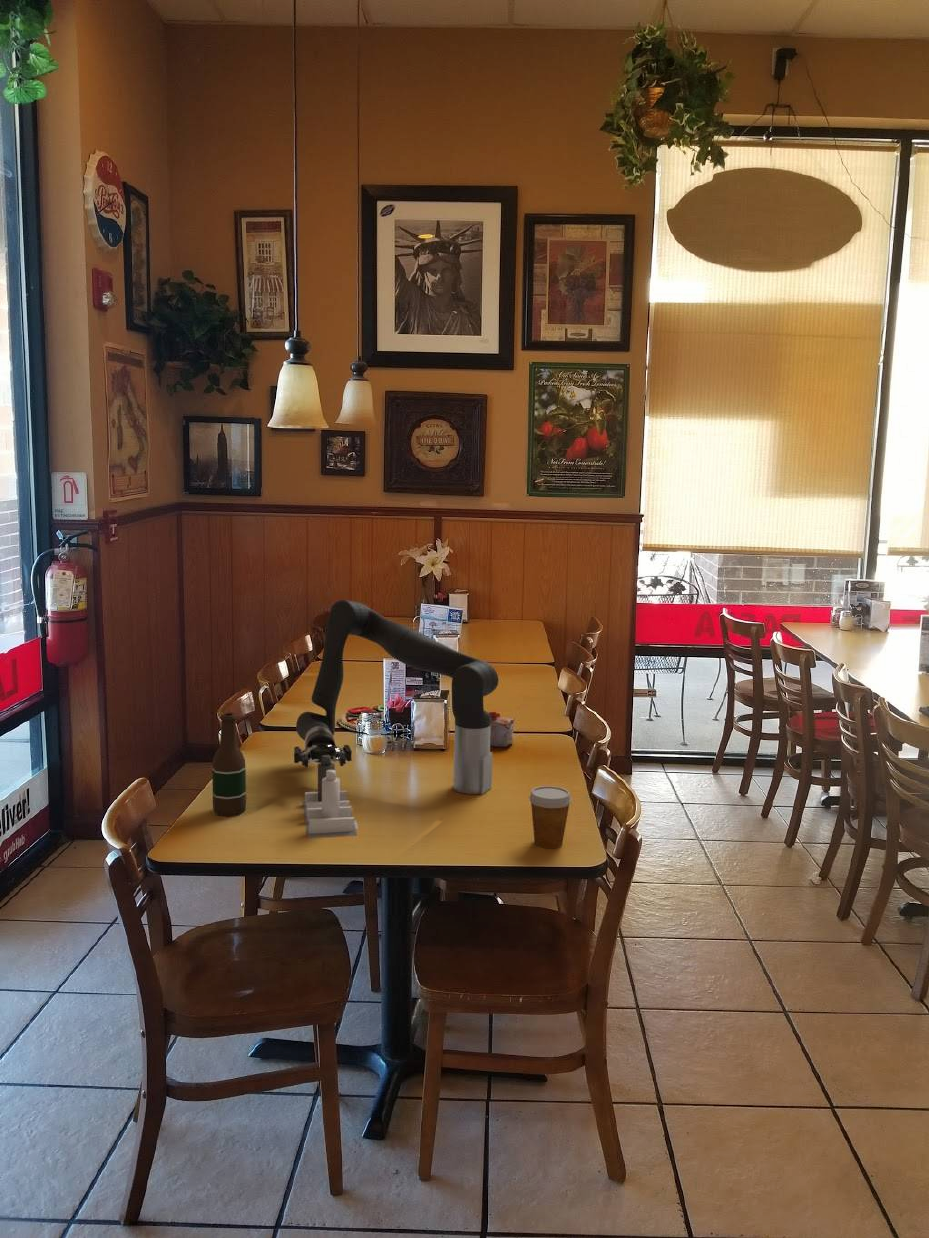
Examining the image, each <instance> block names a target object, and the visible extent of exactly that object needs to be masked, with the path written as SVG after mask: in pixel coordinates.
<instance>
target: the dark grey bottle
mask: <svg viewBox="0 0 929 1238" xmlns="http://www.w3.org/2000/svg"><path fill="white" fill-rule="evenodd" d="M327 770H335V771H336V765H335V762H333V761H331V756H330V755H323V756H321V763H317V792H318V802H322V779H323V778H325V777H326V771H327Z"/></svg>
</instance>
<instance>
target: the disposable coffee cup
mask: <svg viewBox="0 0 929 1238" xmlns="http://www.w3.org/2000/svg"><path fill="white" fill-rule="evenodd" d="M528 798H529V801H530V805H531V815H532V816H531V817H532V828H533V837H534V838H533V839H534V844H535V846H537V847H540V848H543V849H556V848H557V849H558V848H560V847H561V846H563V842H564V837H565V830H566V827H567V826H566V823H567V819H568V814H569V809H570V804H571V802H572V801H573V800H572V796H571V793H570V791H569V790H568V789H566V788H564V787H560V786H553V785H542V786H537V787H534V788H532V789H531V792H530V794H529V795H528Z"/></svg>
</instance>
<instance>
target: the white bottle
mask: <svg viewBox="0 0 929 1238" xmlns="http://www.w3.org/2000/svg"><path fill="white" fill-rule="evenodd" d="M340 791H341V779H340V778H339V777H337V770H336V769H335V770H327V771H326V777H325V778H323V779H322V819H323V818H339V807H340Z"/></svg>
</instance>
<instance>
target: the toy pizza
mask: <svg viewBox="0 0 929 1238" xmlns="http://www.w3.org/2000/svg"><path fill="white" fill-rule="evenodd" d="M383 709H384V704H381V705H375V706H373V707H369V706H357V707H352V708H348V709H347V712H346V713H344V714H342V715H341V716H340V717H339V718H338V720H337V722H341V723H338V725H339V724H340V727H342V728H343V727H344V728H343V729H345V728H346V729H345V730H347V729H348V730H347V731H351V732H353V733H356V732H355V731H356V730H355V729H356V723H357V719H358V718H359V716H360V714H361V712H365V711H373V710H376V711H377V712H383ZM342 724H343V725H342ZM344 725H345V726H344ZM346 726H347V727H346ZM348 727H349V728H348Z"/></svg>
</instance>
